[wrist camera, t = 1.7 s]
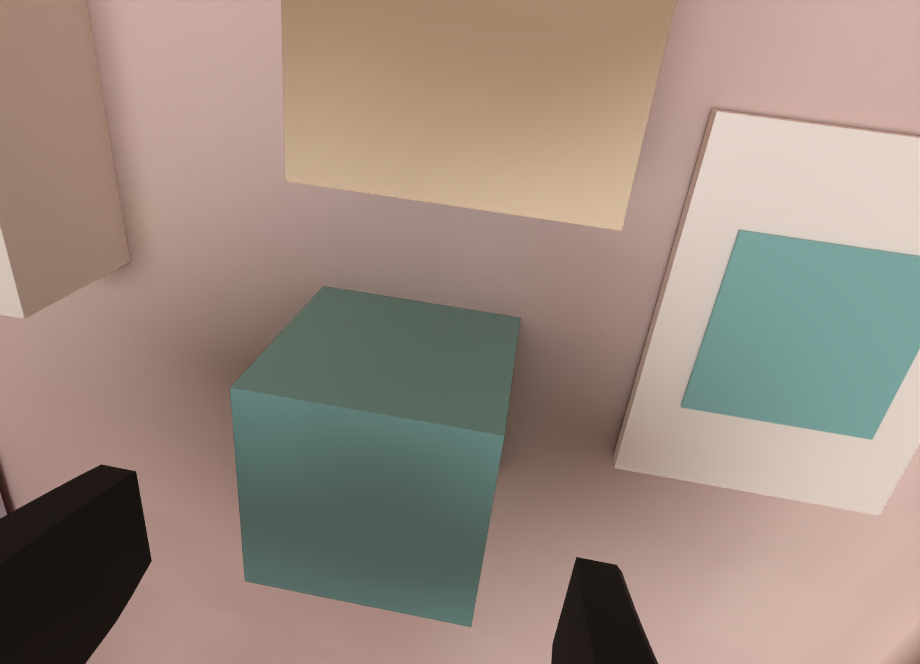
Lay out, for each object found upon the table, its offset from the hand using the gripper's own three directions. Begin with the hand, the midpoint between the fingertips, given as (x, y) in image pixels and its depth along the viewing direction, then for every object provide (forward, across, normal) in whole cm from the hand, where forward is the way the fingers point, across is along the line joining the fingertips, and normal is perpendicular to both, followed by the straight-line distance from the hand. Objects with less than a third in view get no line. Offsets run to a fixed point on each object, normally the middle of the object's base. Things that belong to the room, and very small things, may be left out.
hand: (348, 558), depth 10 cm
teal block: (+6, 0, 0) cm, 6 cm away
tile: (+5, -8, -3) cm, 10 cm away
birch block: (+6, -1, -8) cm, 10 cm away
